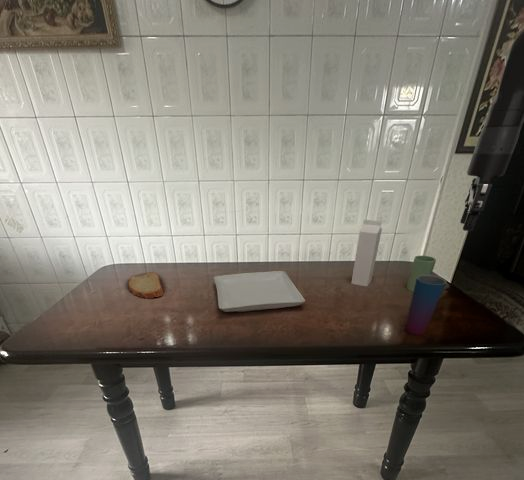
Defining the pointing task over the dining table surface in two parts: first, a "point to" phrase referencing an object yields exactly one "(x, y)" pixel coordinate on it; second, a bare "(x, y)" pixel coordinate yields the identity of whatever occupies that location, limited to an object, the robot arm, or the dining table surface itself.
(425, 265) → the green cup
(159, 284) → the bread slice
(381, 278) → the dining table surface
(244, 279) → the square plate
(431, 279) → the cup
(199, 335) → the dining table surface
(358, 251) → the milk
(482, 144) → the robot arm
